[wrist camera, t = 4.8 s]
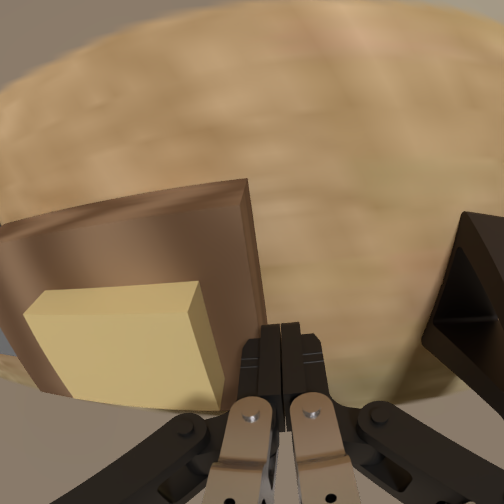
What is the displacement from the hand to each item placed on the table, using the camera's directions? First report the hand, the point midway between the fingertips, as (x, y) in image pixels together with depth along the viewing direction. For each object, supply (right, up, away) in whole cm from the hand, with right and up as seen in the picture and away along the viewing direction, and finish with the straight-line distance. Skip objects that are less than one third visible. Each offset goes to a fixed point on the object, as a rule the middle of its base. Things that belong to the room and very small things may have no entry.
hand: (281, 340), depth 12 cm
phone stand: (+13, +2, +4) cm, 14 cm away
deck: (-9, +1, +5) cm, 10 cm away
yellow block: (-7, 0, +1) cm, 7 cm away
